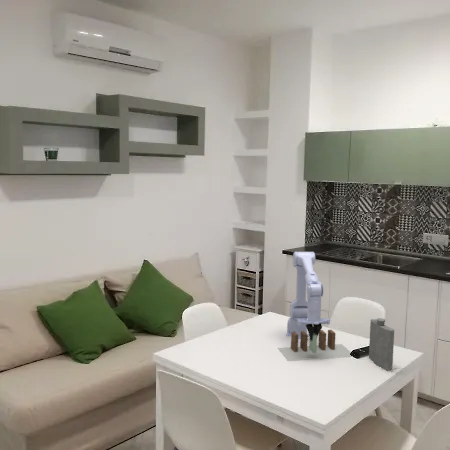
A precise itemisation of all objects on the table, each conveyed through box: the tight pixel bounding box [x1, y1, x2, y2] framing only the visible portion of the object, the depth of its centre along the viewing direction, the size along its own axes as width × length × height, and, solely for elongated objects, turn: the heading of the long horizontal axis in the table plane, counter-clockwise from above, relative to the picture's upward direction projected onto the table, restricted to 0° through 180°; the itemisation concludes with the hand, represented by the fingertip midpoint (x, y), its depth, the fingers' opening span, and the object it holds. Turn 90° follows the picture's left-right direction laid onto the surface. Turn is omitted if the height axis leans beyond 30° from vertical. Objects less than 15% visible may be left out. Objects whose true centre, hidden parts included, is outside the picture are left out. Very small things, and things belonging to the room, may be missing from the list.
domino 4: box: [326, 329, 336, 350], centre depth 238 cm, size 2×5×8 cm, turn 11°
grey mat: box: [277, 343, 353, 362], centre depth 233 cm, size 32×16×1 cm, turn 101°
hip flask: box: [368, 317, 395, 372], centre depth 220 cm, size 16×4×20 cm, turn 14°
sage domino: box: [308, 332, 318, 353], centre depth 227 cm, size 2×5×8 cm, turn 9°
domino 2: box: [299, 331, 309, 352], centre depth 235 cm, size 2×5×8 cm, turn 12°
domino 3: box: [317, 329, 327, 351], centre depth 237 cm, size 2×5×8 cm, turn 11°
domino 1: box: [290, 332, 299, 352], centre depth 235 cm, size 2×5×8 cm, turn 11°
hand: (313, 340), depth 226 cm, fingers closed on sage domino, 1 cm apart
